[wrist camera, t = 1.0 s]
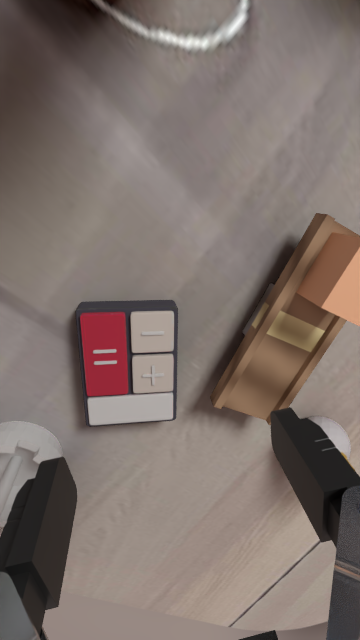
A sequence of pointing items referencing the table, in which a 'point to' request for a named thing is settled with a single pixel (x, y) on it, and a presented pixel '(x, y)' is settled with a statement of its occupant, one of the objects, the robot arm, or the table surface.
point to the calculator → (128, 361)
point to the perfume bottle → (334, 434)
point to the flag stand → (22, 458)
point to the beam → (281, 336)
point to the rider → (336, 278)
